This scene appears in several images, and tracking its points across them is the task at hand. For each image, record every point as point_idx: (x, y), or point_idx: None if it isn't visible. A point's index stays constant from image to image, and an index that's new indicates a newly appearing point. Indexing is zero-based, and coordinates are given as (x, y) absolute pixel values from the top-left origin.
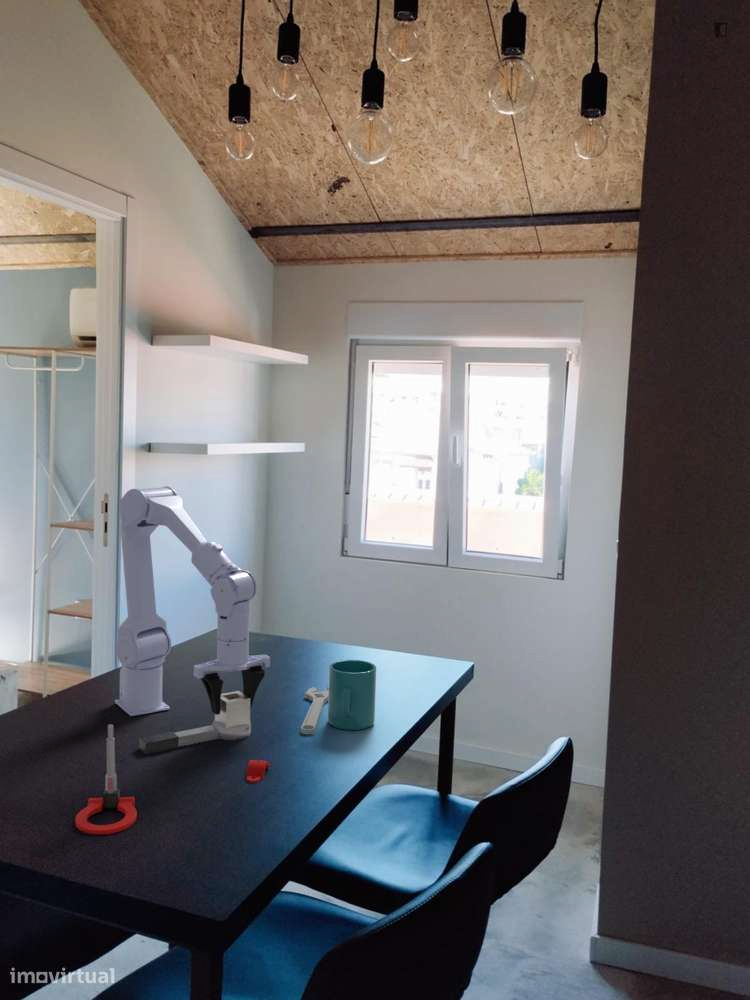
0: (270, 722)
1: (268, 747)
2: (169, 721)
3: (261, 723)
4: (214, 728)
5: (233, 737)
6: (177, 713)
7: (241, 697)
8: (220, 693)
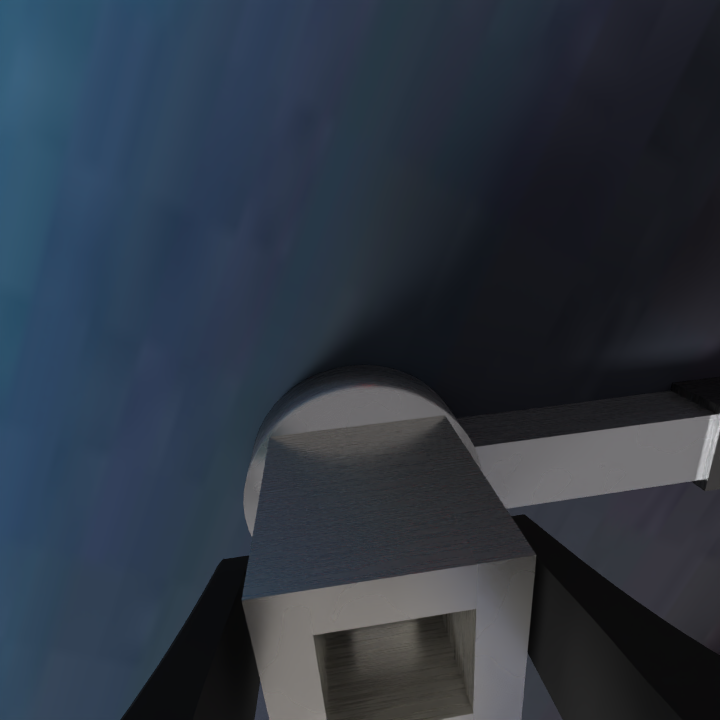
0: (98, 528)
1: (228, 156)
2: None
3: (155, 530)
4: (487, 463)
5: (392, 374)
6: None
7: (317, 649)
8: (653, 676)
